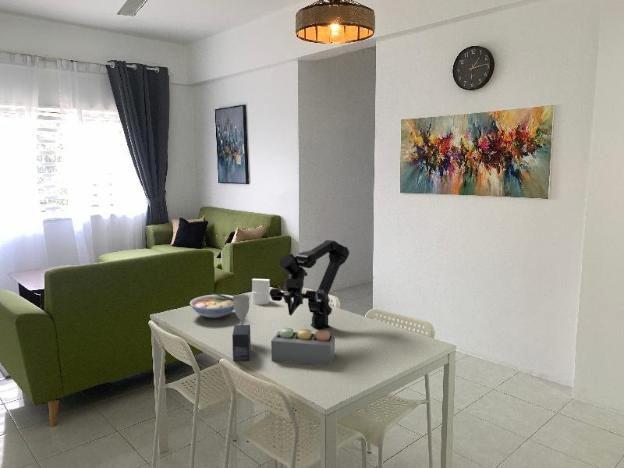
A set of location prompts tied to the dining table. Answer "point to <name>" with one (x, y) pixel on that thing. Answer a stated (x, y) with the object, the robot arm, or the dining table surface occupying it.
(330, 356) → the grey compartment box
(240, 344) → the small box
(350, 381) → the dining table surface
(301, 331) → the button ochre
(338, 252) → the robot arm
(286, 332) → the button sage
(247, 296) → the chalice
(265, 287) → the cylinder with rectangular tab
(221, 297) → the ramen bowl
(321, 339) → the button terracotta
